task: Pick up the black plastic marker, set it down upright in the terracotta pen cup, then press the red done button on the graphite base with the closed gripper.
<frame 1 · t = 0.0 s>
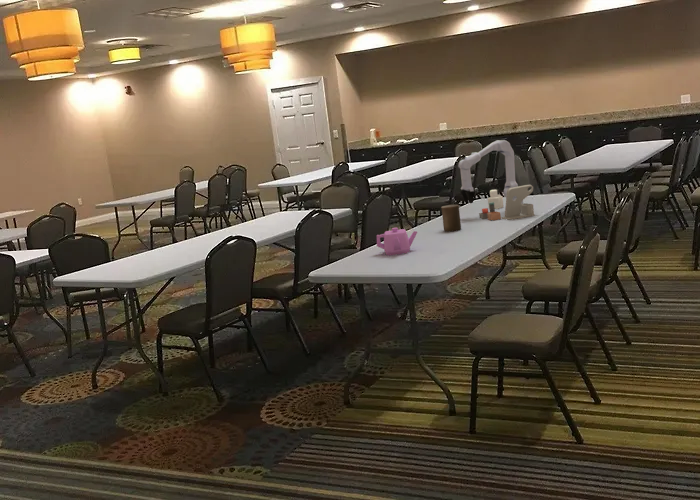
hand: (468, 202, 431), 10 cm above the table, fingers open, 7 cm apart
button base: (485, 217, 430), on the table
pen cup: (494, 219, 421), on the table
pillar candle: (452, 230, 405), on the table
phone holder: (518, 217, 419), on the table
teakettle: (398, 252, 364), on the table
marker: (492, 215, 435), on the table
medicine bottle: (496, 208, 463), on the table
done button: (485, 211, 430), point 4 cm above the table, slide at 0.0 cm
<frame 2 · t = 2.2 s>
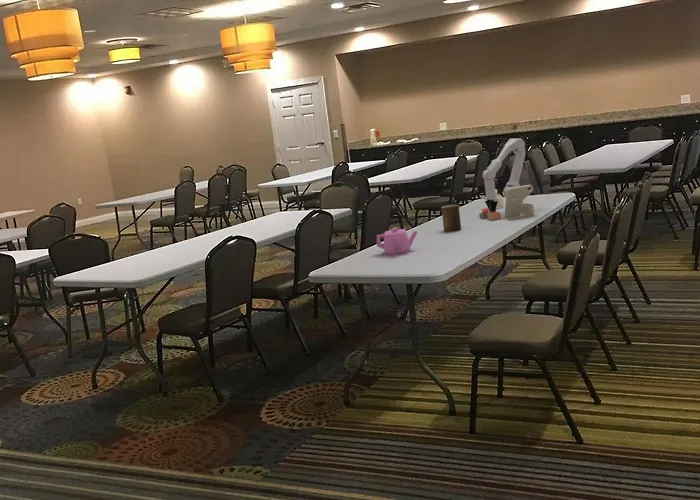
hand: (492, 212, 435), 2 cm above the table, fingers closed on marker, 3 cm apart
marker: (492, 215, 435), on the table, touching gripper
everything else where it was.
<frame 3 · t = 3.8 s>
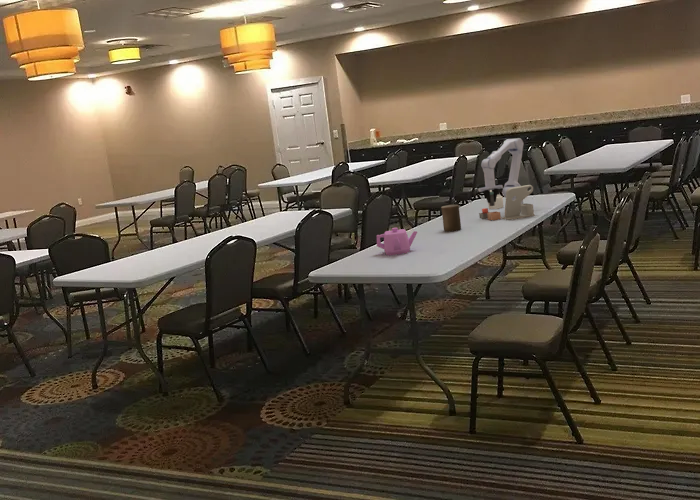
hand: (491, 202, 427), 9 cm above the table, fingers closed on marker, 3 cm apart
marker: (492, 205, 427), point 7 cm above the table, touching gripper
everything else where it was.
when the fingers open (5 cm above the table, at t = 5.3 s): marker drops 3 cm, resting on pen cup.
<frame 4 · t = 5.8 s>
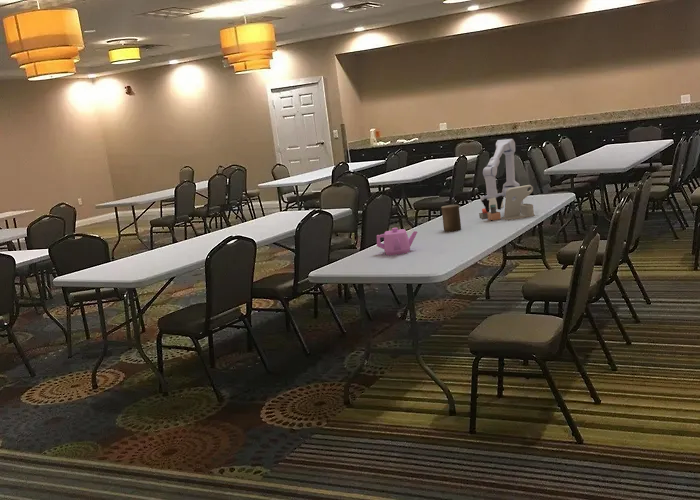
hand: (493, 210, 420), 5 cm above the table, fingers open, 7 cm apart
marker: (494, 218, 421), point 1 cm above the table, touching pen cup
everything else where it was.
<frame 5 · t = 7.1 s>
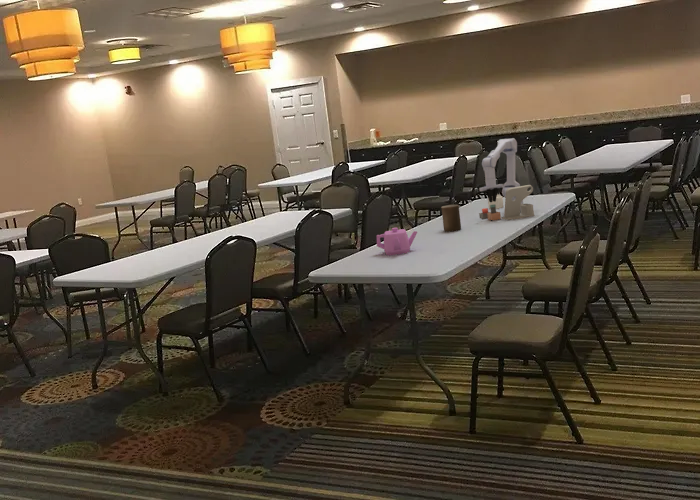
hand: (492, 201, 419), 10 cm above the table, fingers closed
nothing on the table moved.
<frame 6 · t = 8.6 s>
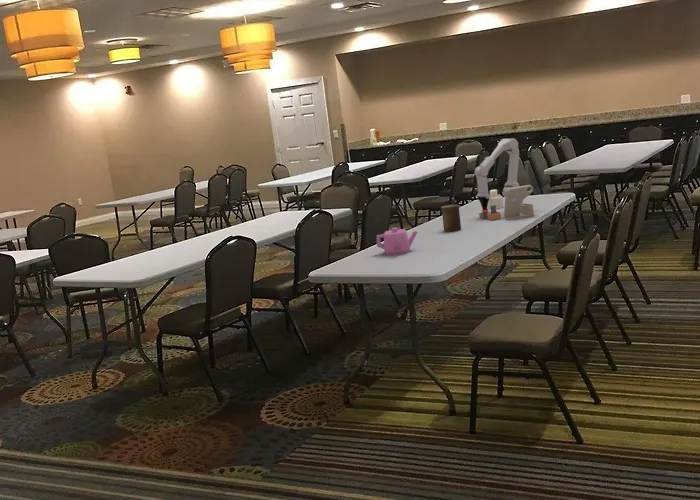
hand: (484, 209, 429), 5 cm above the table, fingers closed, pressing on done button
done button: (485, 211, 430), point 4 cm above the table, slide at 0.4 cm, touching gripper
everything else where it was.
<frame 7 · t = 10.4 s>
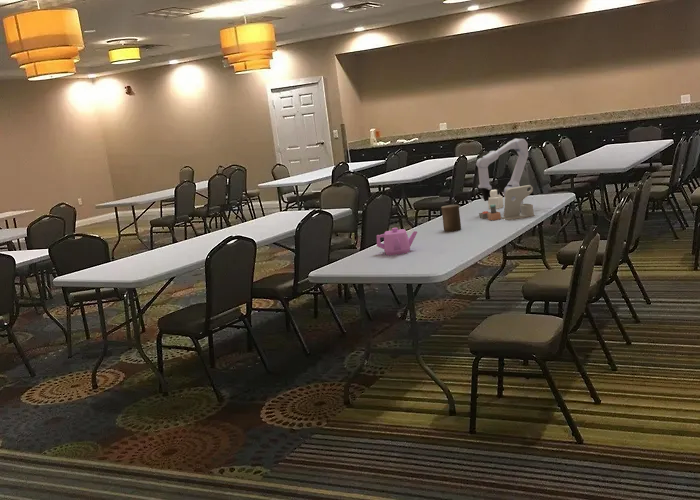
hand: (486, 200, 434), 9 cm above the table, fingers closed
done button: (485, 214, 430), point 2 cm above the table, slide at 1.8 cm
everything else where it was.
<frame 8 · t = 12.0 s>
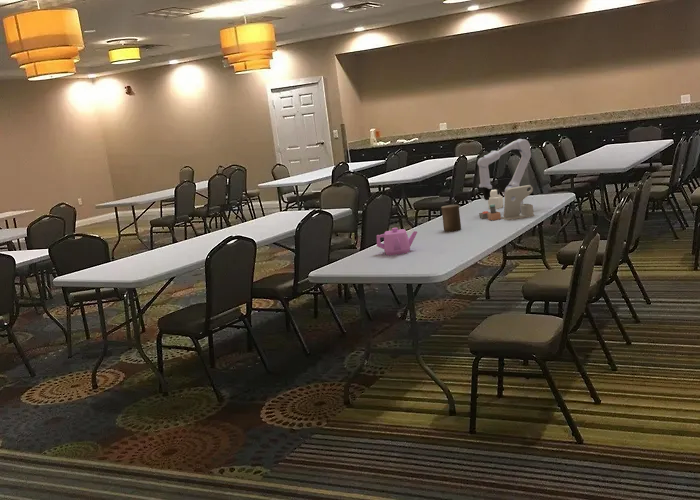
hand: (486, 199, 437), 9 cm above the table, fingers closed
at the end: marker 0.1 cm off-centre on the pen cup, point 0.7 cm above the pen cup's base; marker tilted 3°; done button slide at 1.8 cm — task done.
